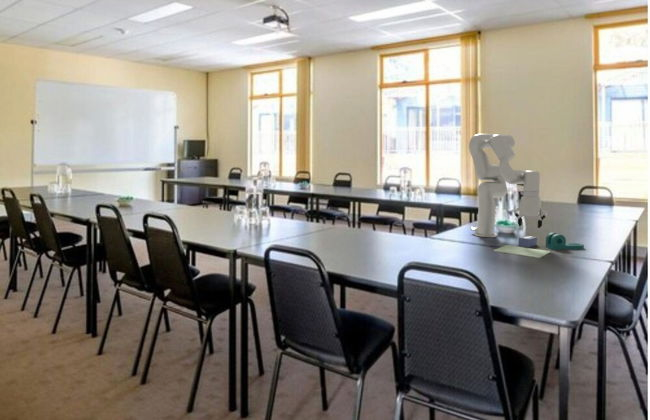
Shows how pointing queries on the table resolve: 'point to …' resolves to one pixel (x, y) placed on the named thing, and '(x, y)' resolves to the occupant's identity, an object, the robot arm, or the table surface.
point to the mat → (522, 251)
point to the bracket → (560, 242)
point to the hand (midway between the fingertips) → (529, 226)
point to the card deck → (527, 241)
